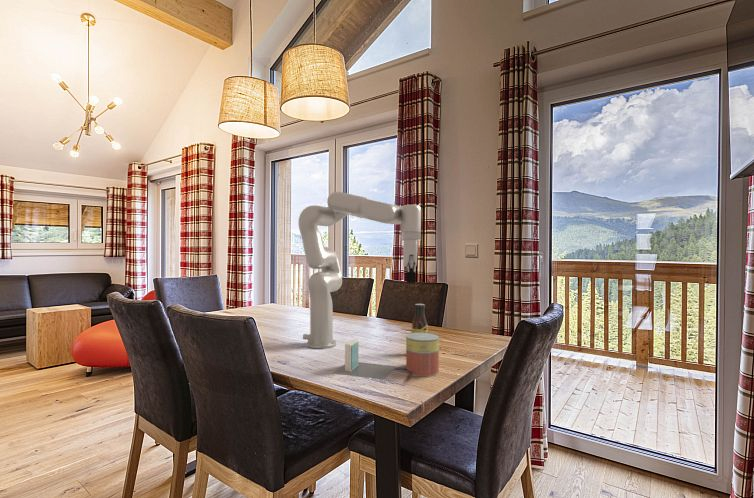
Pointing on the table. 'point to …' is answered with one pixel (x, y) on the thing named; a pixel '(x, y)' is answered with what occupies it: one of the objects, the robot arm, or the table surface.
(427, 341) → the canned food
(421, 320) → the sauce bottle
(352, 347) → the tile
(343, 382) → the table surface
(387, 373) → the slate board
